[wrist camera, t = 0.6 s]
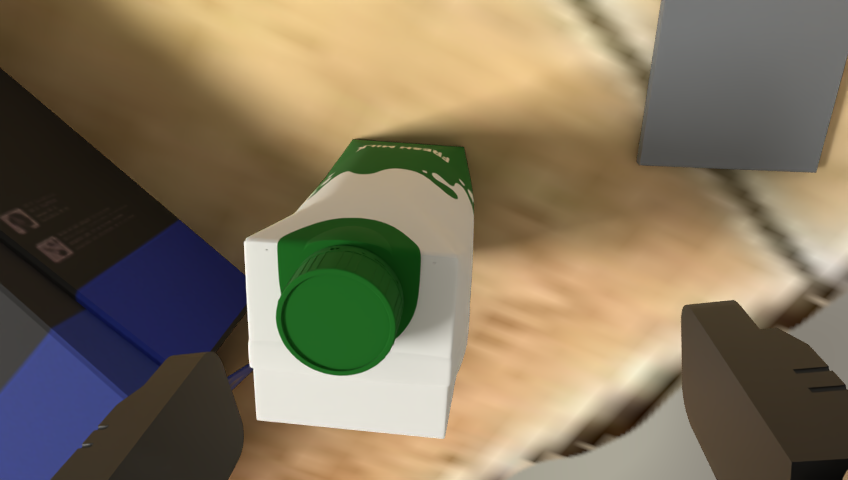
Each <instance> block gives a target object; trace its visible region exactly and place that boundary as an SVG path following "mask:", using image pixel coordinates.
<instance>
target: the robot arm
mask: <svg viewBox="0 0 848 480" xmlns="http://www.w3.org/2000/svg"><path fill="white" fill-rule="evenodd" d="M681 337H682V390H683V398H684V404H685V408H686V413H687V416H688V419H689V422H690V425H691V427H692V429H693V431H694V433H695V435H696V438H697V439H698V442H699V444H700V446H701V448H702V450H703V452H704V454H705V456H706V458H707V460H708V462H709V465H710V467H711V469H712V471H713V473H714V475H715V477H716V479H717V480H848V390H847V389H846V385H845V384H844V383H843V382H842V381H841V379H840V378H839V377H838V376H837V375H836V374H835V373H834V372H833V371H829V367H828V365H827V364H826V363H825V362H824V361H823V360H822V359H821V358H820V357H819V356H818V355H817V353H816V352H815V351H814V350H813V349H812V348H811V347H810V346H809V345H808V344H806V343H804V342H802V341H801V340H799V339H797V338H795V337H793V336H791V335H790V334H788V333H786V332H784V331H782V330H780V329H778V328H769V329H759V328H758V327H757V325H756V324H755V323H754V322H753V320H752V319H751V318H750V317H749V316H748V314H747V313H746V312H745V311H744V309H743V308H742V307H741V306H740V305H739V304H738V303H737V302H736V301H734V300H730V301H720V302H710V303H700V304H690V305H685V306H684V307H683V309H682V315H681ZM243 439H244V432H243V424H242V420H241V417H240V414H239V411H238V408H237V405H236V402H235V399H234V396H233V393H232V390H231V387H230V384H229V381H228V378H227V375H226V372H225V369H224V366H223V364H222V361H221V359H220V357H219V356H218V355H217V354H216V353H214V352H201V353H191V354H181V355H173V356H170V357H168V358H167V359H166V360H165V361H164V362H163V364H162V365H161V366H160V367H159V368H158V369H157V370H156V372H155V373H154V374H153V375H152V376H151V377H150V379H149V380H148V381H147V382H146V383H145V384H144V386H142V387H141V388H139V389H138V390H137V391H135V392H134V393H132V394H131V395H130V396H128V397H127V398H125V399H124V400H123V401H121V402H120V403H118V404H117V405H116V406H115V407H114V408H113V409H112V411H111V412H110V413H109V414H108V415H107V416H106V417H105V418H104V420H103V421H102V422H101V423H100V424H99V425H98V430H94V431H93V432H92V433H91V434H90V435H89V437H88V438H87V439H86V440H85V441H84V442H83V443H82V448H78V449H77V450H76V451H75V452H74V453H73V455H72V456H71V457H70V458H69V459H68V460H67V461H66V463H65V464H64V465H63V466H62V467H61V468H60V469H59V470H58V472H57V473H56V474H55V475H54V476H53V477H52V478H51V479H50V480H228V479H229V477H230V475H231V473H232V471H233V469H234V467H235V465H236V463H237V462H238V460H239V457H240V455H241V452H242V448H243Z"/></svg>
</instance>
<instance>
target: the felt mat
mask: <svg viewBox="0 0 848 480" xmlns="http://www.w3.org/2000/svg"><path fill="white" fill-rule="evenodd" d="M847 56H848V0H661V6H660V12H659V19H658V25H657V32H656V38H655V45H654V51H653V58H652V64H651V71H650V77H649V84H648V90H647V97H646V103H645V110H644V116H643V123H642V129H641V136H640V142H639V149H638V155H637V163H638V164H639V165H646V166H670V167H694V168H718V169H742V170H766V171H790V172H814V173H816V171H817V167H818V163H819V160H820V156H821V152H822V149H823V145H824V141H825V137H826V134H827V130H828V126H829V123H830V119H831V115H832V111H833V108H834V104H835V100H836V96H837V93H838V89H839V85H840V82H841V78H842V74H843V70H844V67H845V63H846V59H847Z"/></svg>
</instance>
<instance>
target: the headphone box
mask: <svg viewBox="0 0 848 480" xmlns="http://www.w3.org/2000/svg"><path fill="white" fill-rule="evenodd" d="M246 312H247V294H246V276H245V275H244V274H243V273H242V272H241V271H239V270H238V269H237V268H236V267H235V266H233V265H232V264H231V263H230V262H229V261H228V260H226V259H225V258H224V257H223V256H222V255H221V254H219V253H218V252H217V251H216V250H215V249H213V248H212V247H211V246H210V245H209V244H208V243H206V242H205V241H204V240H203V239H202V238H200V237H199V236H198V235H197V234H196V233H195V232H193V231H192V230H191V229H190V228H189V227H187V226H186V225H185V224H184V223H183V222H182V221H180V220H179V219H178V218H177V217H176V216H174V215H173V214H172V213H171V212H170V211H169V210H167V209H166V208H165V207H164V206H163V205H161V204H160V203H159V202H158V201H157V200H156V199H154V198H153V197H152V196H151V195H150V194H149V193H147V192H146V191H145V190H144V189H143V188H141V187H140V186H139V185H138V184H137V183H136V182H134V181H133V180H132V179H131V178H130V177H128V176H127V175H126V174H125V173H124V172H123V171H121V170H120V169H119V168H118V167H117V166H115V165H114V164H113V163H112V162H111V161H110V160H108V159H107V158H106V157H105V156H104V155H102V154H101V153H100V152H99V151H98V150H97V149H95V148H94V147H93V146H92V145H91V144H89V143H88V142H87V141H86V140H85V139H84V138H82V137H81V136H80V135H79V134H78V133H76V132H75V131H74V130H73V129H72V128H71V127H69V126H68V125H67V124H66V123H65V122H64V121H62V120H61V119H60V118H59V117H58V116H56V115H55V114H54V113H53V112H52V111H51V110H49V109H48V108H47V107H46V106H45V105H43V104H42V103H41V102H40V101H39V100H38V99H36V98H35V97H34V96H33V95H32V94H30V93H29V92H28V91H27V90H26V89H25V88H23V87H22V86H21V85H20V84H19V83H17V82H16V81H15V80H14V79H13V78H12V77H10V76H9V75H8V74H7V73H6V72H4V71H3V70H2V69H1V68H0V480H50V479H51V478H52V477H53V476H54V475H55V474H56V473H57V472H58V470H59V469H60V468H61V467H62V466H63V465H64V464H65V463H66V461H67V460H68V459H69V458H70V457H71V456H72V455H73V453H74V452H75V451H76V450H77V449H78V448H82V443H83V442H84V441H85V440H86V439H87V438H88V437H89V435H90V434H91V433H92V432H93V431H94V430H98V425H99V424H100V423H101V422H102V421H103V420H104V418H105V417H106V416H107V415H108V414H109V413H110V412H111V411H112V409H113V408H114V407H115V406H116V405H117V404H118V403H120V402H121V401H123V400H124V399H125V398H127V397H128V396H130V395H131V394H132V393H134V392H135V391H137V390H138V389H139V388H141V387H142V386H144V384H145V383H146V382H147V381H148V380H149V379H150V377H151V376H152V375H153V374H154V373H155V372H156V370H157V369H158V368H159V367H160V366H161V365H162V364H163V362H164V361H165V360H166V359H167V358H168V357H170V356H173V355H181V354H191V353H201V352H214V353H216V351H217V350H218V349H219V347H220V346H221V345H222V343H223V342H224V341H225V339H226V338H227V337H228V336H229V334H230V333H231V332H232V330H233V329H234V328H235V326H236V325H237V324H238V322H239V321H240V320H241V318H242V317H243V316H244V314H245V313H246ZM252 371H253V368H251V367H250V364H247V365H246V366H244V367H242V368H241V369H239V370H238V371H236V372H234V373H233V374H231V375H229V376H228V377H227V378H228V381H229V384H230V387H231V390H233V389H234V388H235V387H236V386H237V385H238V384H239V383H240V382H241V381H242V380H243V379H244V378H245V377H246V376H248V375H249V374H250V373H251V372H252Z"/></svg>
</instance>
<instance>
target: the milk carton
mask: <svg viewBox="0 0 848 480" xmlns="http://www.w3.org/2000/svg"><path fill="white" fill-rule="evenodd" d="M473 236H474V198H473V191H472V184H471V179H470V174H469V169H468V164H467V160H466V155H465V150H464V147H457V146H443V145H428V144H414V143H399V142H385V141H370V140H356V139H353V140H352V142H351V143H350V144H349V146H348V147H347V148H346V150H345V151H344V153H343V154H342V155H341V157H340V158H339V159H338V161H337V162H336V163H335V165H334V166H333V168H332V169H331V170H330V172H329V173H328V175H327V176H326V177H325V179H324V180H323V181H322V182H321V183H320V184H319V186H318V187H317V188H316V189H315V190H314V191H313V193H312V194H311V195H310V196H309V197H308V198H307V199H306V201H305V202H304V203H303V204H302V205H301V206H300V207H299V209H298V210H297V211H296V212H295V213H294V214H292V215H290V216H288V217H286V218H285V219H283V220H281V221H279V222H277V223H275V224H273V225H271V226H269V227H267V228H265V229H263V230H261V231H259V232H257V233H255V234H253V235H251V236H249V237H247V238H246V240H245V242H244V255H245V275H246V294H247V313H248V330H249V341H248V353H249V364H250V367H251V368H253V372H254V388H255V403H256V417H257V420H261V421H270V422H280V423H290V424H300V425H310V426H320V427H330V428H340V429H350V430H360V431H370V432H380V433H390V434H400V435H410V436H420V437H430V438H441V439H444V438H445V434H446V429H447V424H448V418H449V412H450V407H451V401H452V396H453V390H454V385H455V380H456V375H457V373H458V371H459V369H460V366H461V363H462V361H463V357H464V354H465V350H466V346H467V339H468V329H469V316H470V315H469V314H470V296H471V282H472V262H473Z"/></svg>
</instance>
